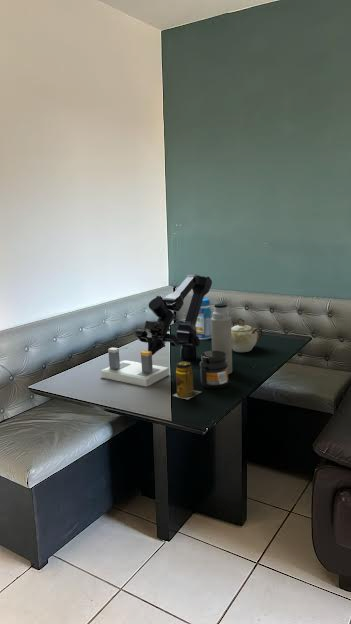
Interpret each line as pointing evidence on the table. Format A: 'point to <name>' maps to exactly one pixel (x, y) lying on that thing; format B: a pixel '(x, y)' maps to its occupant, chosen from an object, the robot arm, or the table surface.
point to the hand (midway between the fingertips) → (148, 356)
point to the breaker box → (135, 373)
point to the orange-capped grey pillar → (146, 361)
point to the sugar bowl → (244, 337)
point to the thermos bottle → (222, 332)
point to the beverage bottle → (204, 320)
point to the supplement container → (214, 369)
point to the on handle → (114, 358)
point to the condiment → (185, 381)
